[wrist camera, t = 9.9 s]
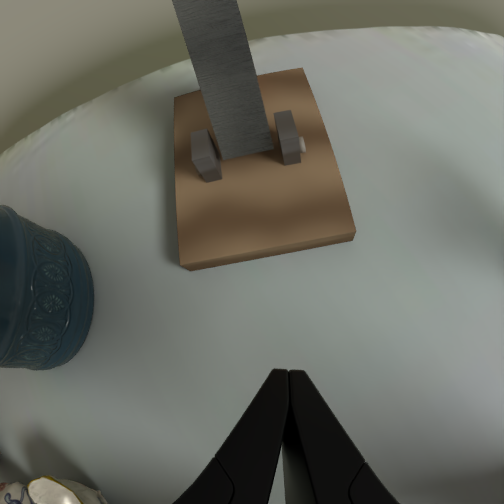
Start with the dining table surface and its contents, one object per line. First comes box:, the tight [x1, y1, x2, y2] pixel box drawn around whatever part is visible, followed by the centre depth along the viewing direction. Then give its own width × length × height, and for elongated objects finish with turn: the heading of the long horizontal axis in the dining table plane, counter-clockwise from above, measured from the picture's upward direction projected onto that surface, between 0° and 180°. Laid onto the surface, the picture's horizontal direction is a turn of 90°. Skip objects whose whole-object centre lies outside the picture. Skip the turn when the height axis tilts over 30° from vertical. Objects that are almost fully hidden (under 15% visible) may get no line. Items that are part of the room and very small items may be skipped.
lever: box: [172, 0, 274, 160], centre depth 17 cm, size 2×5×16 cm
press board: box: [174, 63, 356, 271], centre depth 22 cm, size 16×12×7 cm
